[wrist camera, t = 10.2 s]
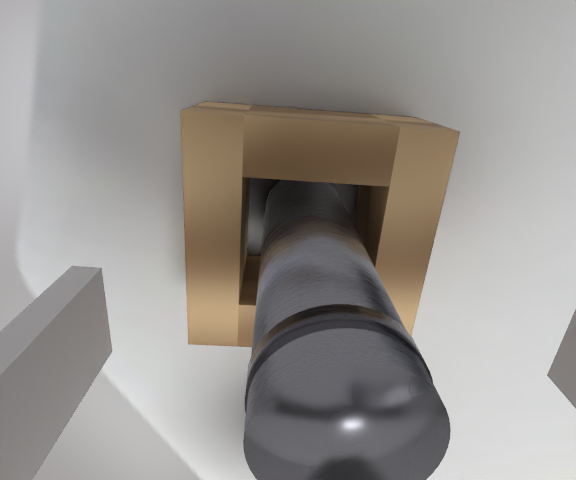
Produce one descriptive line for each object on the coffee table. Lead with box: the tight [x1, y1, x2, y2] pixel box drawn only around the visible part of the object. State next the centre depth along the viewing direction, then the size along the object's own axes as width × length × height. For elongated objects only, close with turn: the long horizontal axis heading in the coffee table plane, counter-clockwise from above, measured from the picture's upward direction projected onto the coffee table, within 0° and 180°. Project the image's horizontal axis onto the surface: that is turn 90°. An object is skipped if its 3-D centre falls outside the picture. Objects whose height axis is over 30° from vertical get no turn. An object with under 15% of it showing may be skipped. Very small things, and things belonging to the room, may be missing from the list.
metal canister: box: [244, 180, 450, 480], centre depth 14 cm, size 4×4×14 cm
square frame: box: [181, 101, 460, 347], centre depth 18 cm, size 10×10×5 cm
